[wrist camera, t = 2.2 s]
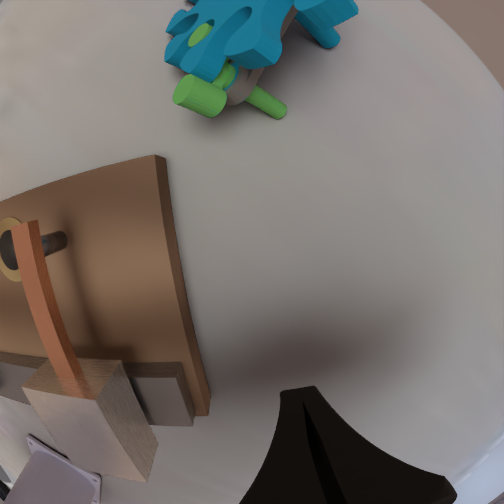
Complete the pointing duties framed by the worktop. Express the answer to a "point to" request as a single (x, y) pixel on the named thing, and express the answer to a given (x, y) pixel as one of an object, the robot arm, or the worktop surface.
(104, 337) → the hole board
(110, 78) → the worktop surface
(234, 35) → the gear
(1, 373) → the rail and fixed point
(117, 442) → the slider
